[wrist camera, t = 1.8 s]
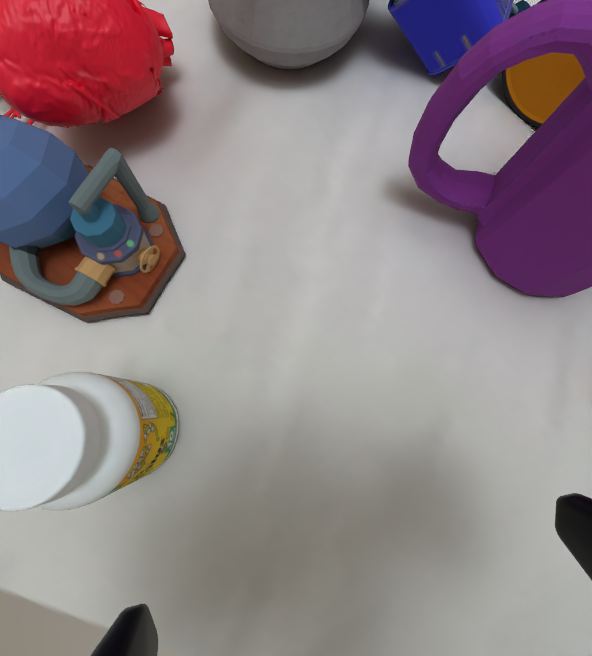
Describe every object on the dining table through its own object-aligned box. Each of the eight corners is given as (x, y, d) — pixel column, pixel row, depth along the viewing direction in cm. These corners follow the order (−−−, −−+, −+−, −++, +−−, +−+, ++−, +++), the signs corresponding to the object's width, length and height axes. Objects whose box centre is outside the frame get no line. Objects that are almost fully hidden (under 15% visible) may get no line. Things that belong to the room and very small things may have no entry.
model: (-39, 258, 23) (-246, 157, 14) (51, 148, 25) (-78, -4, 16) (127, 346, 22) (24, 300, 13) (205, 224, 24) (163, 113, 15)
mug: (588, 318, 24) (1060, 179, 10) (367, 248, 25) (502, 9, 10) (603, 203, 26) (1008, -55, 12) (399, 139, 27) (549, -189, 12)
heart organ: (185, -86, 17) (137, -53, 25) (-160, -139, 12) (-83, -78, 20) (211, 144, 23) (166, 112, 31) (-12, 165, 19) (3, 121, 27)
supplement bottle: (144, 365, 22) (48, 330, 13) (199, 433, 21) (140, 450, 12) (67, 426, 21) (-99, 437, 12) (122, 500, 20) (-9, 576, 11)
